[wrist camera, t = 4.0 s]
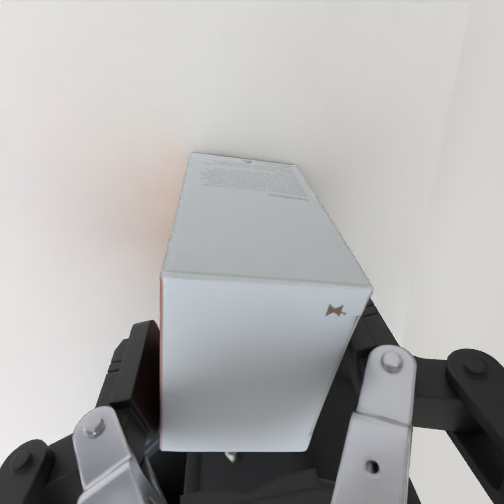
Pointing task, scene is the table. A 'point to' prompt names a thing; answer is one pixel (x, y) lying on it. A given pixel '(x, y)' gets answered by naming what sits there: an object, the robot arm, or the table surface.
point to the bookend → (263, 454)
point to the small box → (251, 309)
